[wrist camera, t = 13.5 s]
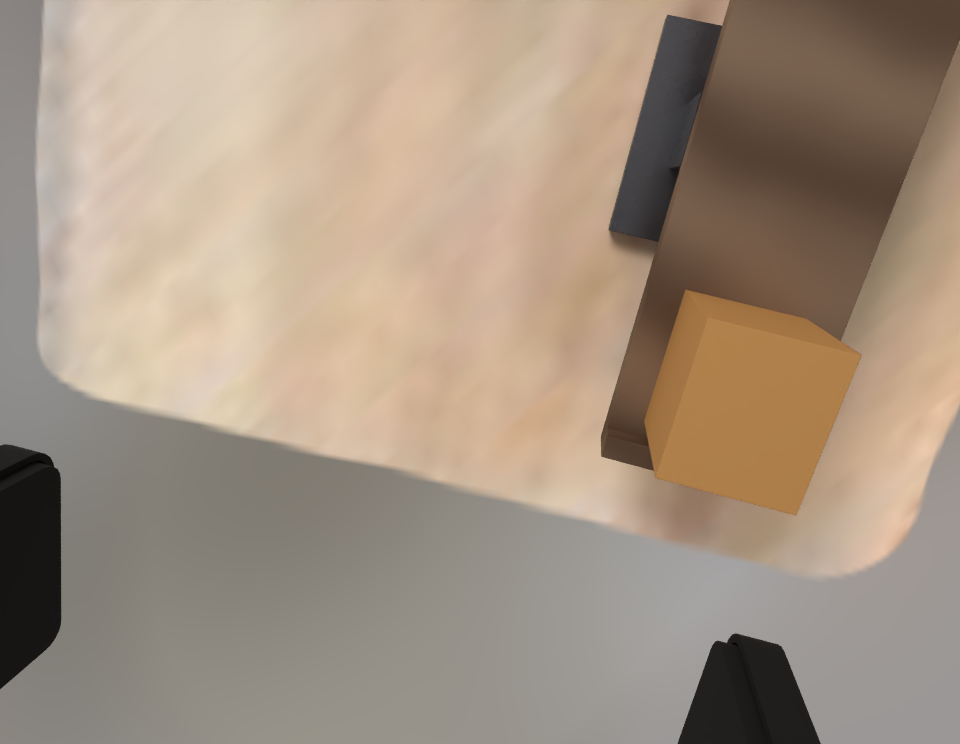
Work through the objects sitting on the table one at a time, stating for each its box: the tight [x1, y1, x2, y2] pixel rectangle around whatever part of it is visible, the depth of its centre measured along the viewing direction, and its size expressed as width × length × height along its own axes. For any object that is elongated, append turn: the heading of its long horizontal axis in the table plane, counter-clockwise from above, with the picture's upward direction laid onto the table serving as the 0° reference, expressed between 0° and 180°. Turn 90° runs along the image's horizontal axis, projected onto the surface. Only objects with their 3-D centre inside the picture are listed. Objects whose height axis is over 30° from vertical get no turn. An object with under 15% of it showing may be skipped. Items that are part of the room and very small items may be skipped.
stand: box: [609, 15, 722, 242], centre depth 32 cm, size 18×12×6 cm, turn 168°
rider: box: [644, 290, 861, 515], centre depth 26 cm, size 6×5×6 cm
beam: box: [601, 0, 960, 471], centre depth 26 cm, size 28×8×2 cm, turn 168°
